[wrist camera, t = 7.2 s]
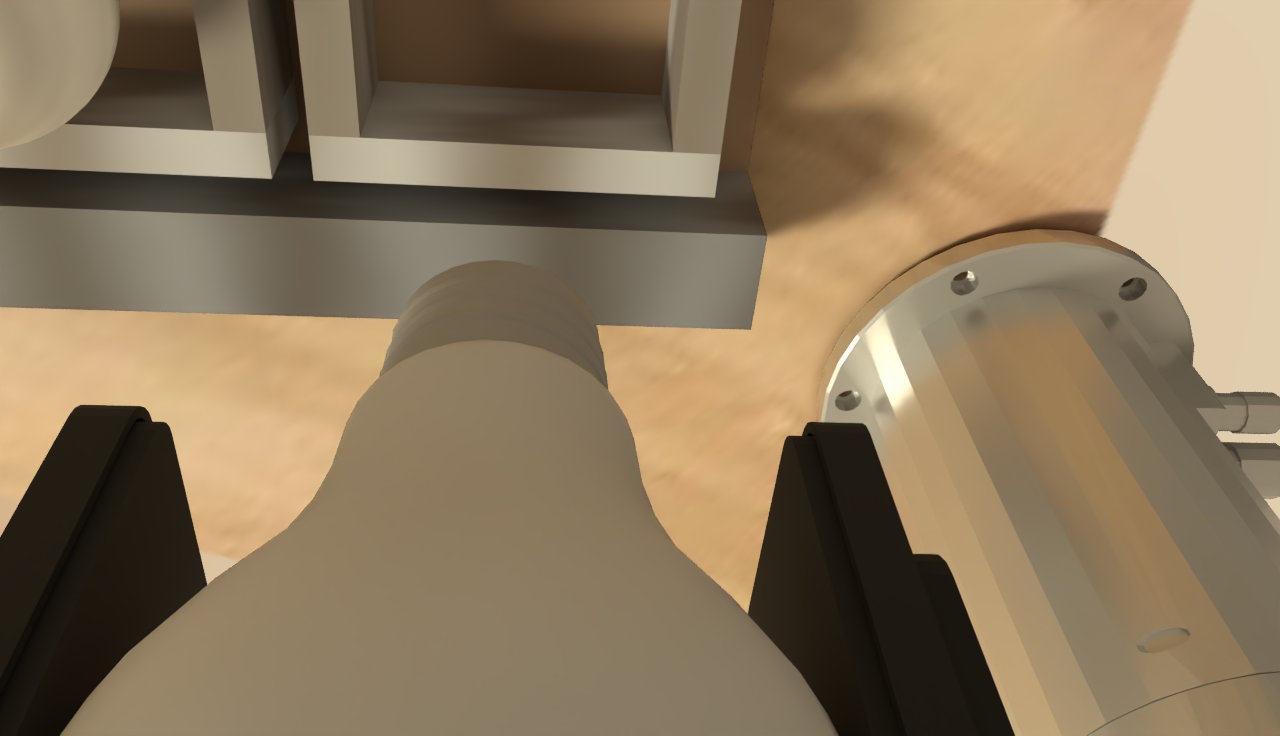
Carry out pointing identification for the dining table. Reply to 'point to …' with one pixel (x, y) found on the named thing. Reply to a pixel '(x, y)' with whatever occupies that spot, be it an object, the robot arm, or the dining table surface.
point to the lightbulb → (467, 565)
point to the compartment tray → (380, 153)
